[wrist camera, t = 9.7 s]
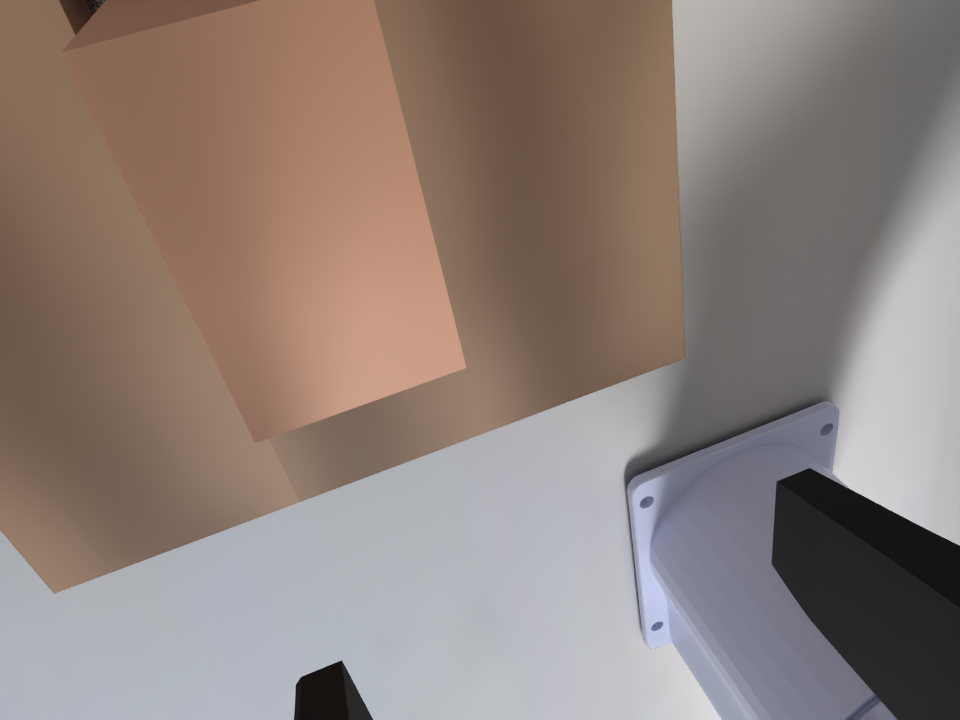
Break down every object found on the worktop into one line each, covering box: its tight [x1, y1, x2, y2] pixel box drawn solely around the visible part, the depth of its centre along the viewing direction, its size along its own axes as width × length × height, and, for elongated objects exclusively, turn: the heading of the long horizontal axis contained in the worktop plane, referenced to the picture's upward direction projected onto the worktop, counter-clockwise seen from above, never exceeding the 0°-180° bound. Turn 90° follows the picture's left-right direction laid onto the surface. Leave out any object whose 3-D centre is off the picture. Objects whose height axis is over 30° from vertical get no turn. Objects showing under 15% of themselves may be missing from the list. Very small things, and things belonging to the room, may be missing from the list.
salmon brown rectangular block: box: [61, 0, 466, 443], centre depth 12 cm, size 3×5×8 cm, turn 11°
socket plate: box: [0, 0, 685, 594], centre depth 14 cm, size 16×16×2 cm
